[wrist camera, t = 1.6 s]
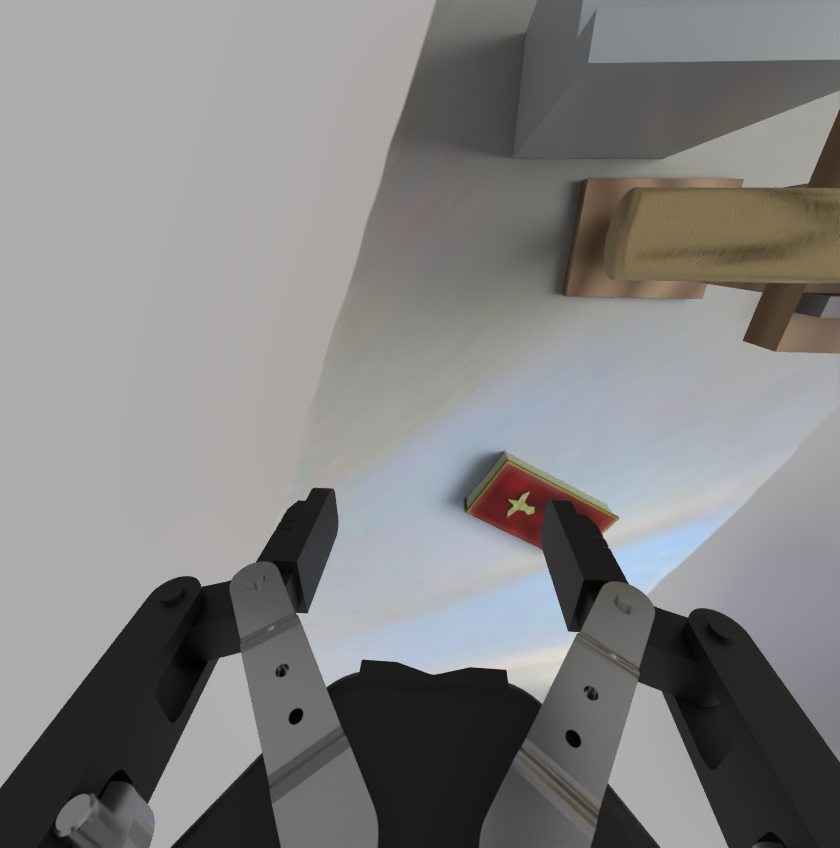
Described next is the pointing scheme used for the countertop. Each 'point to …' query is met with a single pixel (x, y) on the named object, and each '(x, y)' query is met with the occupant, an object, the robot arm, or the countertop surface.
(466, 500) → the hardcover book
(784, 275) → the brass rod
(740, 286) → the walnut stand
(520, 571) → the countertop surface
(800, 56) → the grey cradle
